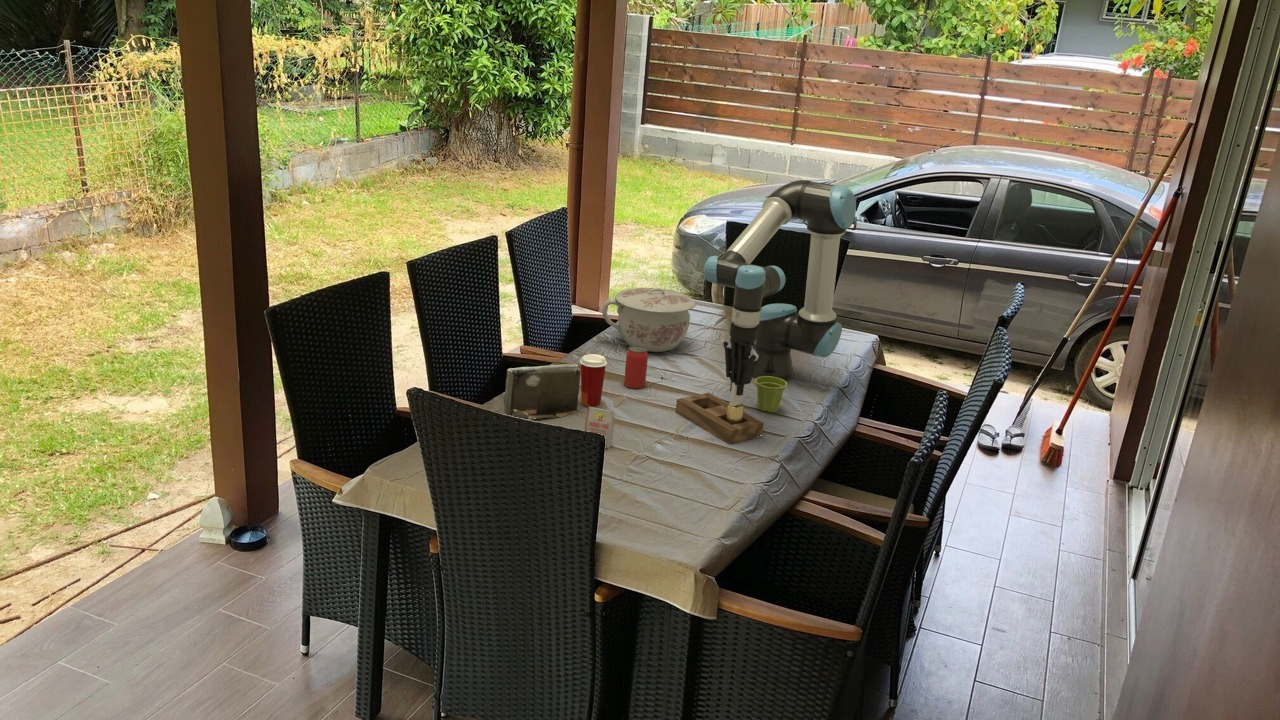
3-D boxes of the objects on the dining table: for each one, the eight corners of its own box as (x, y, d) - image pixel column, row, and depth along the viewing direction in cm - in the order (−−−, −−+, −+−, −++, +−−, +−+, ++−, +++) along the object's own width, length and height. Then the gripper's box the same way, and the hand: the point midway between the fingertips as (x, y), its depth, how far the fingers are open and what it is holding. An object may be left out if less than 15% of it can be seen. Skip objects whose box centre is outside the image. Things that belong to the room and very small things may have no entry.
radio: (576, 404, 281) (579, 355, 275) (588, 415, 273) (591, 366, 268) (499, 412, 271) (500, 362, 265) (509, 425, 263) (510, 374, 258)
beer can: (642, 390, 294) (646, 353, 290) (621, 387, 295) (624, 350, 291) (647, 383, 300) (650, 346, 296) (626, 380, 301) (629, 343, 297)
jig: (707, 405, 288) (708, 392, 286) (762, 436, 270) (763, 422, 268) (675, 411, 281) (676, 399, 279) (729, 444, 263) (730, 430, 261)
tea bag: (588, 438, 259) (590, 404, 256) (612, 443, 257) (615, 408, 254) (583, 444, 256) (586, 409, 252) (608, 448, 254) (610, 414, 251)
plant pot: (763, 416, 283) (767, 389, 280) (745, 404, 290) (749, 377, 287) (789, 413, 287) (793, 385, 284) (771, 401, 295) (775, 374, 292)
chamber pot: (705, 345, 338) (711, 288, 331) (664, 366, 316) (670, 305, 309) (638, 327, 351) (642, 272, 344) (594, 345, 329) (598, 286, 322)
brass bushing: (733, 427, 274) (736, 401, 271) (743, 433, 271) (747, 406, 268) (721, 430, 271) (724, 403, 268) (731, 436, 268) (735, 409, 265)
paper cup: (607, 401, 284) (611, 356, 279) (598, 410, 277) (601, 364, 273) (583, 396, 286) (585, 351, 282) (572, 404, 280) (575, 359, 275)
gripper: (718, 318, 262) (709, 398, 271) (750, 332, 253) (740, 415, 261) (739, 314, 267) (729, 394, 275) (771, 329, 257) (760, 410, 265)
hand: (735, 404), depth 268 cm, fingers closed
